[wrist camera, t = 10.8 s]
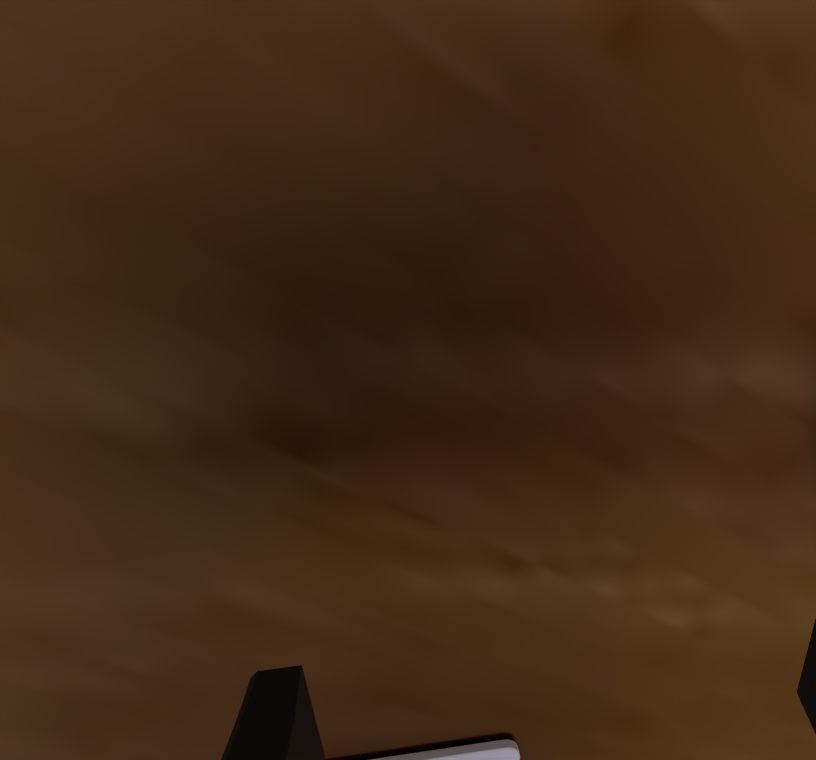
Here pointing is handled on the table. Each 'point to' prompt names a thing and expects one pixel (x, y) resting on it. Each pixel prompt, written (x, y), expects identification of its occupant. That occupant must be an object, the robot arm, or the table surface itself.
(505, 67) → the table surface
